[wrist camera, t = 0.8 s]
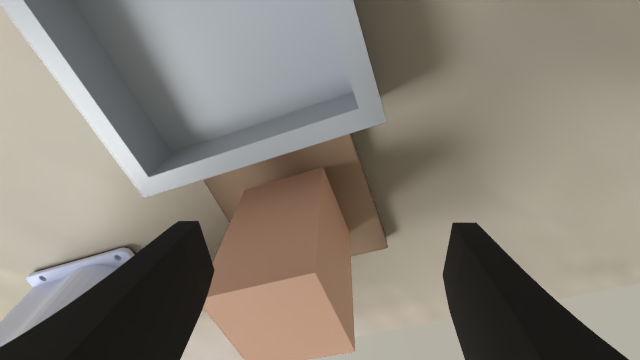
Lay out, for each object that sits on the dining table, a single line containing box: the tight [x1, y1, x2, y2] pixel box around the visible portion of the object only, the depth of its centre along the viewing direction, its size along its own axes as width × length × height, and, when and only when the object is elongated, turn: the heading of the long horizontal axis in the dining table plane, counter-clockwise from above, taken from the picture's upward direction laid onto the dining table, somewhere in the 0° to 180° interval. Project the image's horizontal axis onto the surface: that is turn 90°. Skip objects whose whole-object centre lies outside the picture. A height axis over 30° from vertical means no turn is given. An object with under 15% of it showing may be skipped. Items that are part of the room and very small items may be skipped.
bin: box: [0, 0, 387, 198], centre depth 15 cm, size 13×12×4 cm
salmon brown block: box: [203, 167, 355, 360], centre depth 17 cm, size 5×5×8 cm
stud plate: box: [203, 133, 388, 256], centre depth 20 cm, size 9×9×4 cm
